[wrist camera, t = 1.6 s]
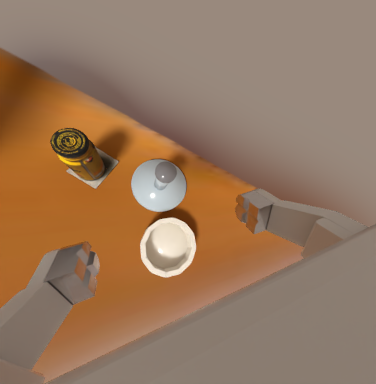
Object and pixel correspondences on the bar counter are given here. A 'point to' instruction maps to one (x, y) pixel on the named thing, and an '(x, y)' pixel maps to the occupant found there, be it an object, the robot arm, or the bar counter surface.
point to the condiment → (82, 156)
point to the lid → (158, 185)
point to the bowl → (167, 247)
